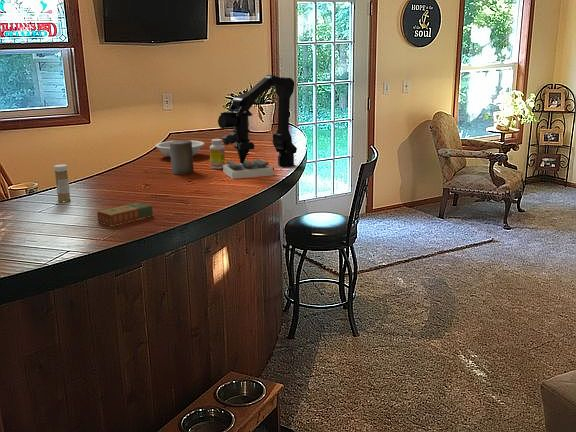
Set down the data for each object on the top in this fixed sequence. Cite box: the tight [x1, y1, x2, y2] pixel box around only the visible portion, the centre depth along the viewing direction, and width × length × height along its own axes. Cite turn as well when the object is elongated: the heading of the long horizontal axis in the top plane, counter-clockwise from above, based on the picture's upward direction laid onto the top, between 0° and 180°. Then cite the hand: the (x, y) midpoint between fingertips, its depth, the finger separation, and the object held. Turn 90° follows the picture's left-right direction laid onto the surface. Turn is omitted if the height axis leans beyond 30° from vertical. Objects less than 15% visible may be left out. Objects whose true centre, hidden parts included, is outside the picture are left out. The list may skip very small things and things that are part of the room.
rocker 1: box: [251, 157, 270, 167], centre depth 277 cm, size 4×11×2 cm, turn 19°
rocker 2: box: [240, 159, 256, 168], centre depth 276 cm, size 4×11×2 cm, turn 19°
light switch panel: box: [222, 163, 275, 180], centre depth 277 cm, size 21×16×3 cm
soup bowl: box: [155, 139, 205, 158], centre depth 317 cm, size 24×24×7 cm
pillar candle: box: [170, 139, 195, 176], centre depth 279 cm, size 10×10×15 cm
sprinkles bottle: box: [53, 164, 71, 203], centre depth 233 cm, size 5×5×13 cm
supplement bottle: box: [209, 138, 226, 170], centre depth 288 cm, size 7×7×13 cm
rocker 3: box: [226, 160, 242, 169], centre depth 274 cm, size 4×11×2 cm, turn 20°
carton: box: [97, 202, 154, 226], centre depth 209 cm, size 8×16×4 cm, turn 138°
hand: (241, 163), depth 274 cm, fingers closed, pressing on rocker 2
